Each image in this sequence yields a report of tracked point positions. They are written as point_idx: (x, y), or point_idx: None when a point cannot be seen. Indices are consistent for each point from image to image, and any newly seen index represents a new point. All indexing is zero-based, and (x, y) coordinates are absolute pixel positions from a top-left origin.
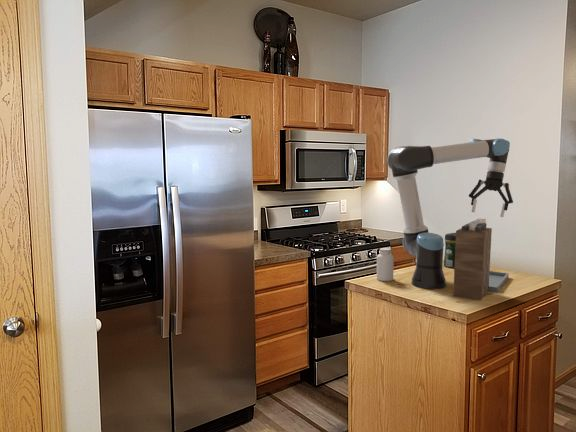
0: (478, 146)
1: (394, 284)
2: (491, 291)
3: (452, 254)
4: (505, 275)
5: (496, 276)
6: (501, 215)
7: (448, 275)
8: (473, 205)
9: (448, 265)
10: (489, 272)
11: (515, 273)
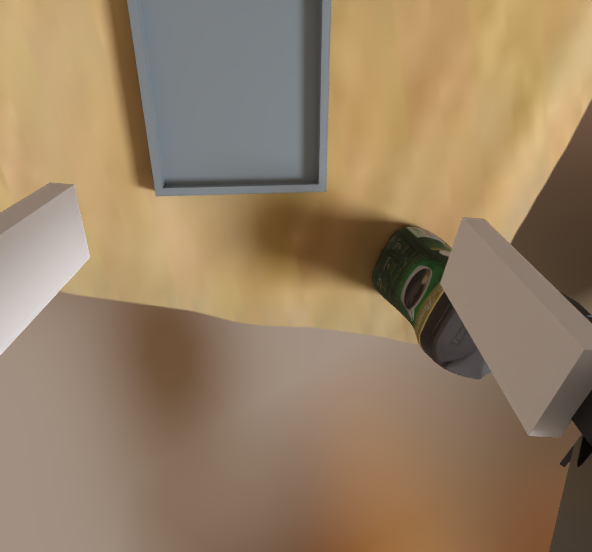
0: None
1: None
2: None
3: (431, 248)
4: (153, 139)
5: (203, 165)
6: (51, 190)
7: (397, 72)
8: (521, 268)
9: (423, 229)
10: (238, 185)
11: (160, 290)
